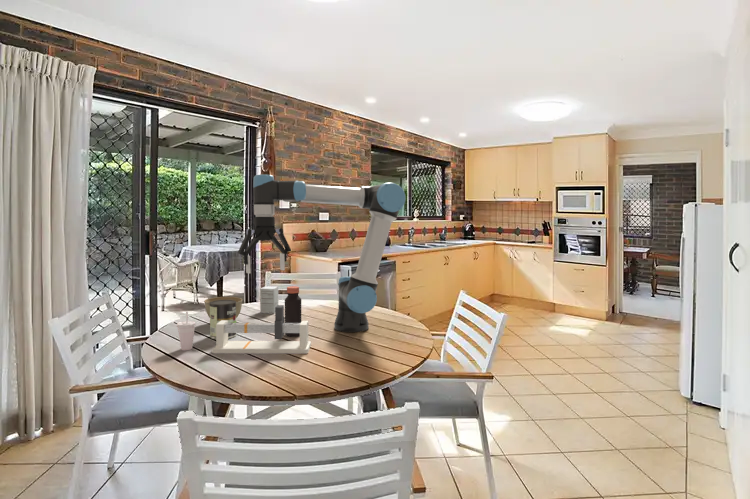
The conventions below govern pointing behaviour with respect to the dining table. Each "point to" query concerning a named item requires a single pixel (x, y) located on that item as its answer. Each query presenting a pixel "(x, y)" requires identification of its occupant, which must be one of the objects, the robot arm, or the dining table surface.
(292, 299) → the bottle
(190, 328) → the smoothie
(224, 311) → the coffee can
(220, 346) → the slider rail stand
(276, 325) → the dark grey tall block
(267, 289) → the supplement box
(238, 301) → the planter bowl
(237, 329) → the pipe
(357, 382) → the dining table surface
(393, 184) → the robot arm
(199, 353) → the dining table surface
